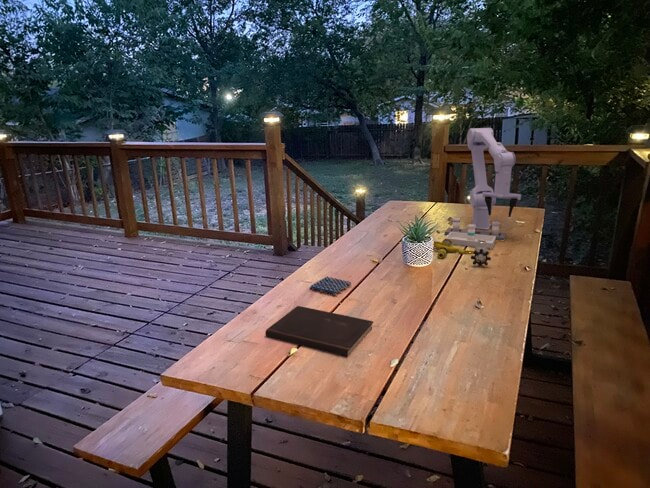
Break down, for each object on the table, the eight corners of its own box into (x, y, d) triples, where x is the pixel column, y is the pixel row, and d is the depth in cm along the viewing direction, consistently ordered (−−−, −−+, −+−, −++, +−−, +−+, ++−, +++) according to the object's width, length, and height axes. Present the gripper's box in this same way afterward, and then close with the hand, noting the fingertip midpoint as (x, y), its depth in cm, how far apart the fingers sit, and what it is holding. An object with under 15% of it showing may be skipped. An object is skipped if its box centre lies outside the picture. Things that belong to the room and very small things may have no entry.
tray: (450, 237, 191) (450, 231, 191) (495, 242, 183) (495, 236, 183) (445, 244, 183) (445, 238, 182) (492, 249, 175) (492, 243, 174)
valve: (470, 255, 169) (470, 266, 158) (472, 238, 167) (471, 248, 156) (489, 257, 167) (490, 268, 156) (491, 239, 165) (491, 250, 154)
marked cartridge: (467, 240, 185) (468, 223, 183) (475, 241, 184) (476, 224, 182) (466, 242, 183) (467, 225, 181) (473, 243, 181) (475, 226, 179)
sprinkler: (419, 245, 168) (427, 233, 181) (417, 255, 170) (426, 242, 182) (473, 257, 161) (477, 244, 174) (471, 267, 163) (475, 253, 176)
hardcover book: (298, 312, 129) (297, 305, 128) (373, 329, 118) (373, 321, 118) (265, 338, 115) (264, 330, 115) (347, 359, 105) (347, 350, 104)
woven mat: (353, 286, 145) (353, 281, 145) (335, 298, 137) (335, 292, 136) (326, 280, 151) (326, 275, 150) (307, 292, 142) (307, 286, 142)
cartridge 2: (491, 236, 191) (492, 220, 189) (499, 237, 190) (500, 221, 187) (490, 238, 188) (491, 222, 186) (498, 239, 187) (499, 222, 185)
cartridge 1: (452, 232, 198) (453, 217, 196) (459, 233, 197) (460, 217, 194) (451, 234, 195) (452, 218, 193) (458, 235, 194) (459, 219, 192)
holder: (448, 230, 201) (448, 227, 200) (505, 236, 190) (506, 233, 190) (444, 235, 195) (444, 231, 194) (503, 241, 184) (504, 237, 184)
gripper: (482, 183, 182) (479, 216, 186) (521, 185, 176) (517, 219, 180) (484, 180, 188) (482, 212, 192) (522, 182, 182) (519, 215, 186)
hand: (499, 215), depth 187 cm, fingers open, 7 cm apart
